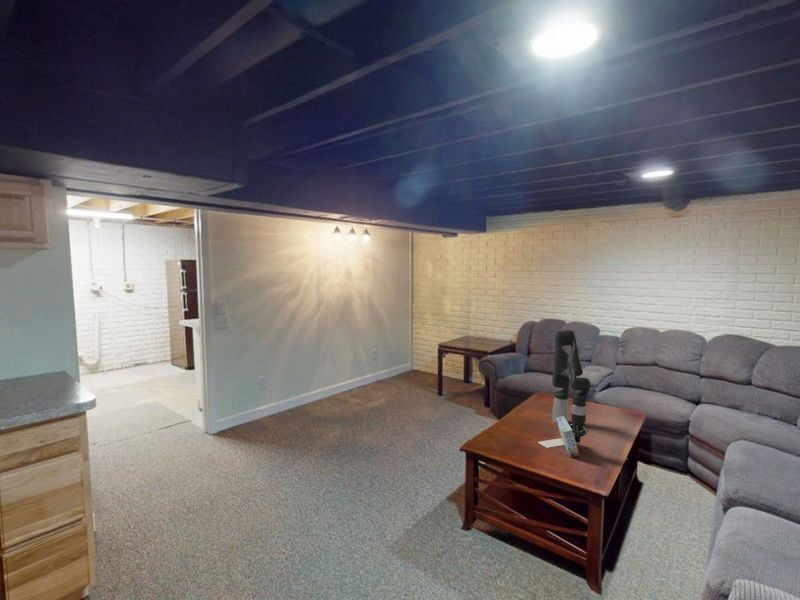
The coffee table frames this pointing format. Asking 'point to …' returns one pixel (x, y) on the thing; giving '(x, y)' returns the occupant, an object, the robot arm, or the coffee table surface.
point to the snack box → (567, 436)
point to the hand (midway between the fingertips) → (577, 442)
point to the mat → (552, 443)
